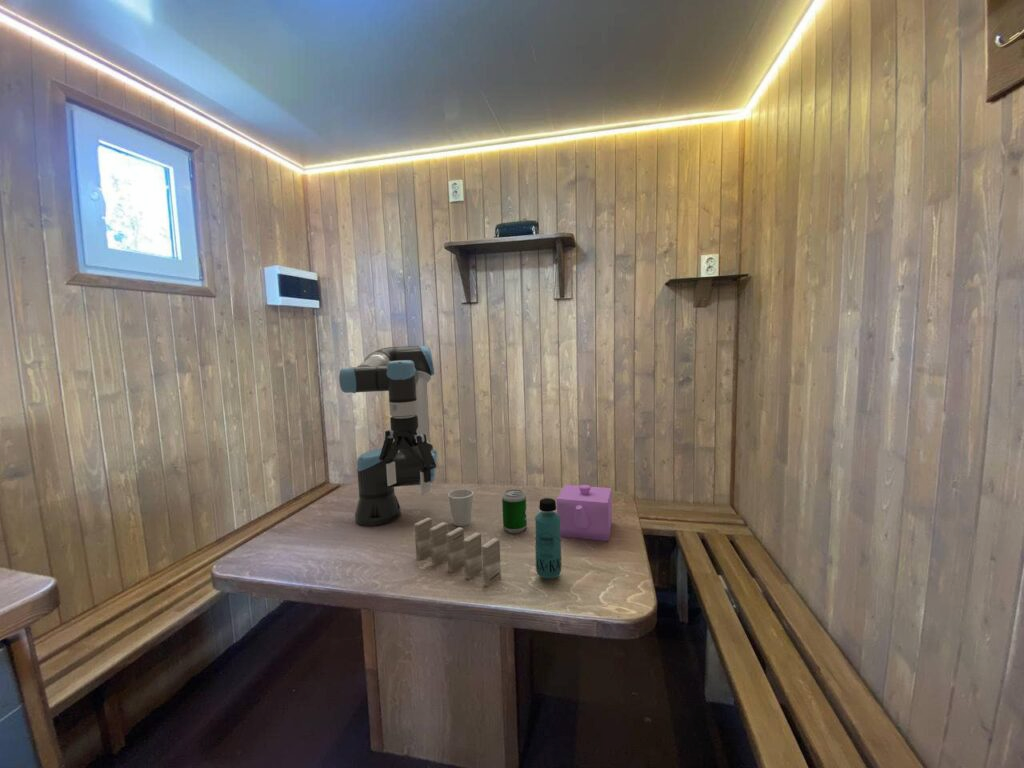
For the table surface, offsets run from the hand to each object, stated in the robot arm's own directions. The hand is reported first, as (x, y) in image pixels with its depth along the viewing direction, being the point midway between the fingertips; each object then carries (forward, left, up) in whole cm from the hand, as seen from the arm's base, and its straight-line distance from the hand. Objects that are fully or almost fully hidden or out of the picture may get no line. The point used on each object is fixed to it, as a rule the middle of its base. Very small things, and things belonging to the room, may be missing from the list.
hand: (408, 488), depth 121 cm
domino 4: (+24, -1, -18) cm, 30 cm away
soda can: (+18, +26, -18) cm, 37 cm away
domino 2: (+12, -1, -18) cm, 22 cm away
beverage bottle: (+41, +8, -18) cm, 46 cm away
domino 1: (+6, -1, -18) cm, 19 cm away
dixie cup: (0, +21, -18) cm, 28 cm away
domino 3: (+18, -1, -18) cm, 26 cm away
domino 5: (+30, -1, -18) cm, 35 cm away
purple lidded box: (+37, +37, -19) cm, 56 cm away
